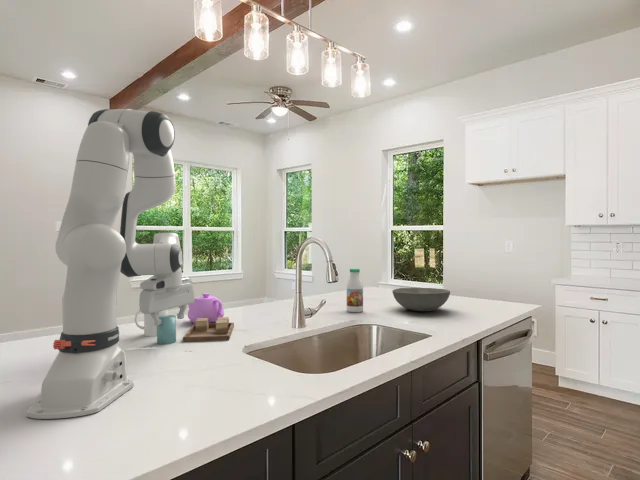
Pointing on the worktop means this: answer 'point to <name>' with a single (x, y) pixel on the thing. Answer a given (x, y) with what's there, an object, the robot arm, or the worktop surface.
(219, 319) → the oak block
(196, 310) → the teapot
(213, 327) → the walnut tray
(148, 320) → the mug
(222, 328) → the oak block
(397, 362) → the worktop surface
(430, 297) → the bowl
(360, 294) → the milk bottle
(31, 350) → the worktop surface
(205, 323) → the oak block
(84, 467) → the worktop surface
